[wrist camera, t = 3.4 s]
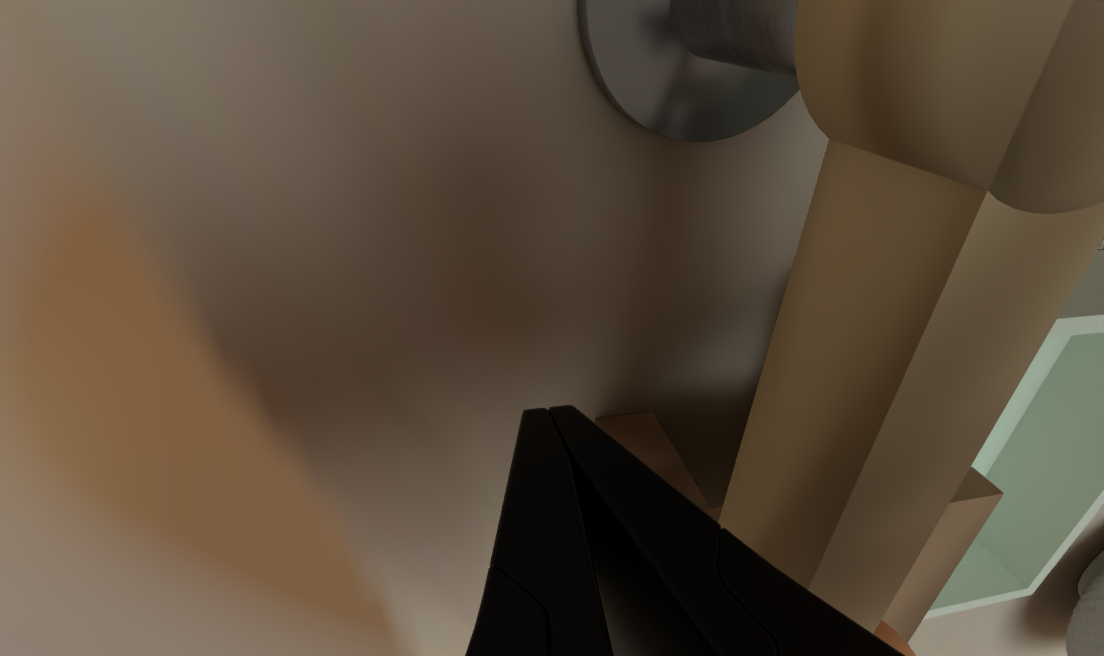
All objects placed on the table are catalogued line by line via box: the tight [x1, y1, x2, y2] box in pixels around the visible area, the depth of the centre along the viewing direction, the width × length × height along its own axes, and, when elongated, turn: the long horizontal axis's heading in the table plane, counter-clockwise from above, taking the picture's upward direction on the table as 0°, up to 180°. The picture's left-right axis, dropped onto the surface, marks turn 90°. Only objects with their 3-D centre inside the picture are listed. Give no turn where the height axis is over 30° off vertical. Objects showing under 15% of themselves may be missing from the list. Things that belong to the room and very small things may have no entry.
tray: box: [923, 250, 1104, 619], centre depth 20 cm, size 13×14×4 cm
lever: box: [718, 0, 1104, 634], centre depth 10 cm, size 4×20×2 cm, turn 178°
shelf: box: [596, 412, 1004, 643], centre depth 18 cm, size 10×8×6 cm
